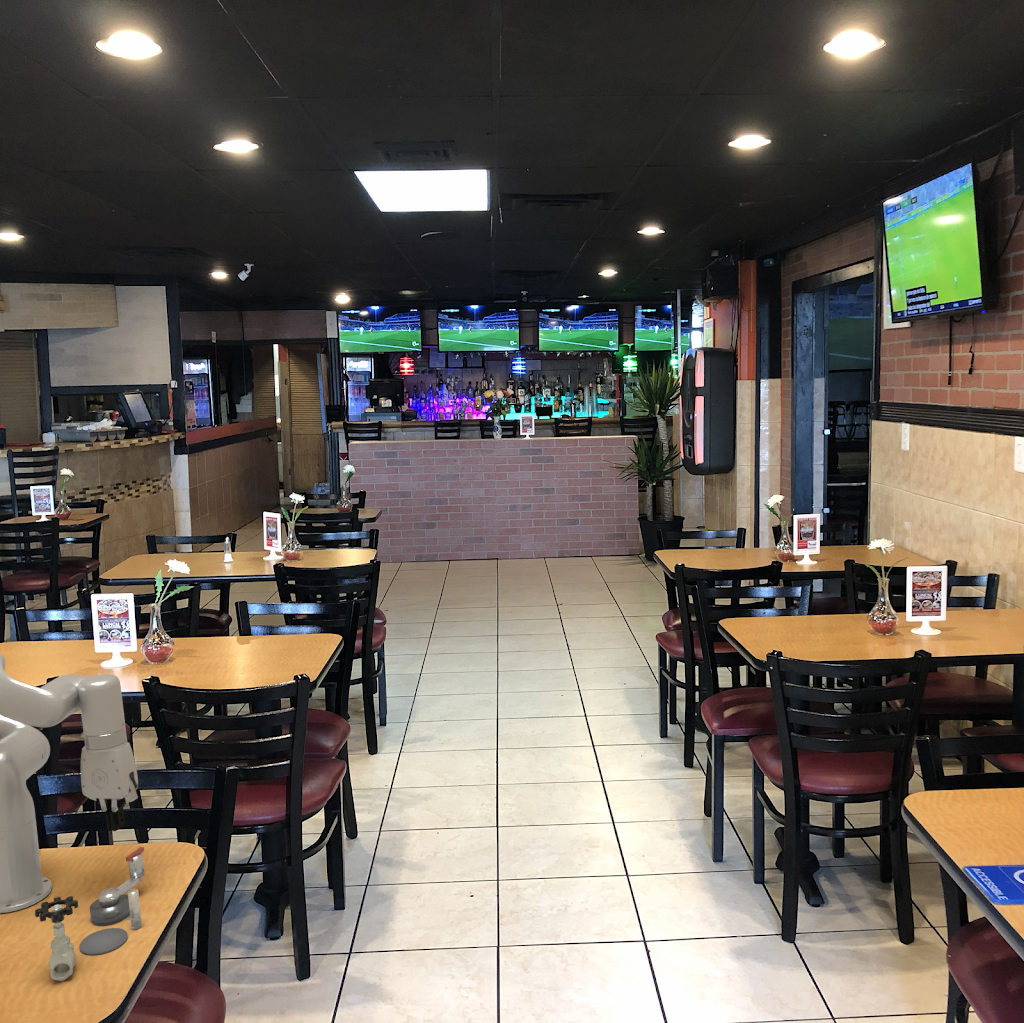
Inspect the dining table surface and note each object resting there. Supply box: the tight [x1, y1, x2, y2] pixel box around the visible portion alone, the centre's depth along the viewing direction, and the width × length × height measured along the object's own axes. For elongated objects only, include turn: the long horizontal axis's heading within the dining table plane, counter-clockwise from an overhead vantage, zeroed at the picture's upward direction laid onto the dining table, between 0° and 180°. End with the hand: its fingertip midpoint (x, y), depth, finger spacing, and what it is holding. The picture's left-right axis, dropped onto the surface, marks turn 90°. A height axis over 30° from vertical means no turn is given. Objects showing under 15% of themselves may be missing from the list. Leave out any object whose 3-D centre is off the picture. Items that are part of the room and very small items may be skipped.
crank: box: [98, 846, 145, 907], centre depth 180 cm, size 12×4×6 cm, turn 164°
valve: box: [34, 895, 79, 982], centre depth 158 cm, size 7×7×12 cm
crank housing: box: [89, 888, 142, 931], centre depth 175 cm, size 12×7×7 cm, turn 74°
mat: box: [78, 927, 129, 956], centre depth 167 cm, size 8×8×1 cm
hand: (116, 827), depth 184 cm, fingers closed
